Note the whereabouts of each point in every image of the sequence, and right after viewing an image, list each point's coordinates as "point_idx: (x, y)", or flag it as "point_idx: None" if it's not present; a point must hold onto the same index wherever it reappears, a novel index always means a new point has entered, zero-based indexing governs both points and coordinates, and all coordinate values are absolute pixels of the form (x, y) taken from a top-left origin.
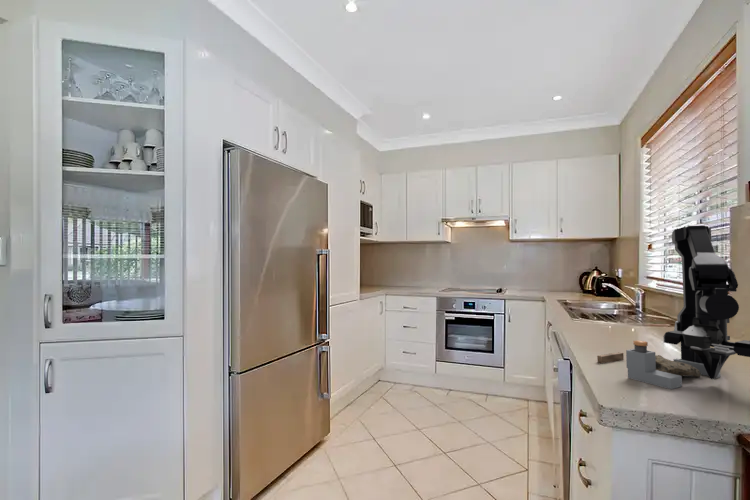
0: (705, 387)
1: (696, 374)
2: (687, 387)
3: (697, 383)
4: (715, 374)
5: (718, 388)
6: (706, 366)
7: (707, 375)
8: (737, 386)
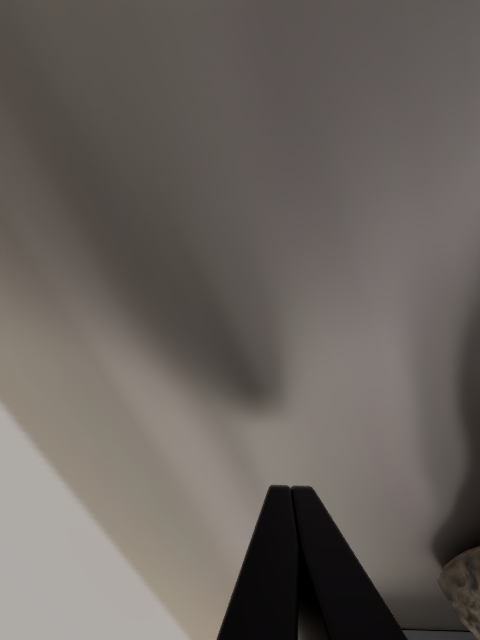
0: (290, 295)
1: (470, 560)
2: (447, 60)
3: (403, 380)
4: (251, 546)
5: (196, 373)
6: (369, 637)
7: (410, 631)
8: (154, 544)
